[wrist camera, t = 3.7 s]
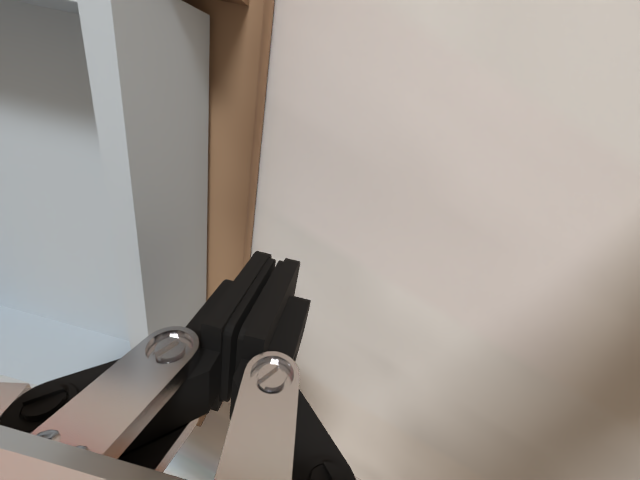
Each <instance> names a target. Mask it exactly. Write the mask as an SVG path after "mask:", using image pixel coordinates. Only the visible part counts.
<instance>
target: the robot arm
mask: <svg viewBox="0 0 640 480" xmlns="http://www.w3.org/2000/svg"><path fill="white" fill-rule="evenodd" d="M275 263H276V260H275V259H271V254H267V253H263V252H259V251H256V252H255V253H254V254H253V256H252V257H251V258H250V260H249V261H248V262H247V264H246V265H245V266H244V268H243V269H242V270H241V272H240V273H239V274H238V276H237V277H236V278H235V279H234V281H232V280H228V279H225V280H224V281H223V282H222V283H221V284H220V285H219V286H218V288H217V289H216V290H215V291H214V293H213V294H212V295H211V296H210V297H209V299H208V300H207V301H206V302H205V304H204V305H203V306H202V307H201V308H200V310H199V311H198V312H197V313H196V315H195V316H194V317H193V318H192V319H191V321H190V322H189V323H188V324H187V326H186V327H182V326H171V327H165V328H162V329H159V330H157V331H155V332H153V333H152V334H150V335H149V336H147V337H146V338H145V339H144V340H142V341H141V342H140V343H139V344H138V345H136V346H135V347H134V348H133V349H132V350H130V351H129V352H128V353H127V354H126V355H124V356H123V357H122V358H120V359H117V360H114V361H111V362H108V363H104V364H101V365H98V366H95V367H92V368H89V369H85V370H82V371H79V372H76V373H73V374H70V375H66V376H63V377H60V378H57V379H54V380H51V381H47V382H45V383H43V384H40V385H38V386H35V387H33V388H31V387H30V384H29V383H8V382H0V480H186V479H183V478H179V477H176V476H172V475H169V474H166V473H163V472H164V470H165V469H166V467H167V466H168V464H169V463H170V462H171V460H172V459H173V457H174V456H175V455H176V453H177V452H178V450H179V449H180V447H181V446H182V445H183V443H184V442H185V440H186V439H187V438H188V436H189V435H190V433H191V432H192V430H193V429H194V428H195V426H196V424H197V422H198V419H199V417H201V416H203V415H205V414H207V413H209V411H210V409H211V410H215V411H218V410H219V408H220V406H221V404H222V402H223V401H226V402H228V401H229V400H230V398H231V407H230V425H229V428H228V432H227V435H226V439H225V443H224V446H223V450H222V453H221V457H220V460H219V464H218V468H217V471H216V475H215V478H214V480H360V479H359V478H357V477H355V476H354V474H353V472H352V470H351V468H350V466H349V465H348V463H347V462H346V460H345V459H344V457H343V455H342V454H341V452H340V451H339V449H338V448H337V446H336V445H335V443H334V442H333V440H332V439H331V437H330V435H329V434H328V432H327V431H326V429H325V428H324V426H323V425H322V423H321V422H320V420H319V419H318V417H317V416H316V414H315V412H314V411H313V409H312V408H311V406H310V405H309V403H308V402H307V400H306V399H305V397H304V396H303V394H302V393H301V391H300V389H299V381H300V374H299V369H298V366H297V364H296V363H295V360H296V357H297V353H298V350H299V346H300V343H301V339H302V336H303V332H304V328H305V324H306V320H307V316H308V311H309V307H310V301H311V300H307V299H303V298H299V297H295V296H294V294H295V288H296V283H297V278H298V272H299V267H300V261H296V260H291V259H287V258H285V260H284V261H279V262H278V263H277V265H276V267H275Z"/></svg>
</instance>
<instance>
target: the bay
mask: <svg viewBox="0 0 640 480" xmlns="http://www.w3.org/2000/svg"><path fill="white" fill-rule="evenodd" d="M182 1H184V2H186V3H188V4H189V5H191V6H193V7H195V8H197V9H199V10H201V11H203V12H205V13H206V14H208V15H210V45H209V121H208V197H207V273H206V301H207V300H208V299H209V297H210V296H211V295H212V294H213V293H214V291H215V290H216V289H217V288H218V286H219V285H220V284H221V283H222V282H223V281H224V280H225V279H228V280H232V281H234V279H235V278H236V277H237V276H238V274H239V273H240V272H241V270H242V269H243V268H244V266H245V265H246V264H247V262H248V261H249V260H250V254H251V244H252V233H253V222H254V212H255V201H256V191H257V180H258V169H259V159H260V148H261V137H262V127H263V116H264V106H265V95H266V84H267V74H268V63H269V52H270V42H271V31H272V20H273V10H274V0H182ZM206 415H207V414H205V415H203V416H201V417H199V419H198V422H197V424H196V425H197V426H200V427H201V425H202V423H203V421H204V419H205V417H206Z"/></svg>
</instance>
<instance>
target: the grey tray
mask: <svg viewBox="0 0 640 480" xmlns="http://www.w3.org/2000/svg"><path fill="white" fill-rule="evenodd" d="M209 45H210V15H208V14H206V13H205V12H203V11H201V10H199V9H197V8H195V7H193V6H191V5H189V4H188V3H186V2H184V1H182V0H0V382H8V383H29V384H30V387H31V388H33V387H35V386H38V385H40V384H43V383H45V382H47V381H51V380H54V379H57V378H60V377H63V376H66V375H70V374H73V373H76V372H79V371H82V370H85V369H89V368H92V367H95V366H98V365H101V364H104V363H108V362H111V361H114V360H117V359H120V358H122V357H123V356H124V355H126V354H127V353H128V352H129V351H130V350H132V349H133V348H134V347H135V346H136V345H138V344H139V343H140V342H141V341H142V340H144V339H145V338H146V337H147V336H149V335H150V334H152V333H153V332H155V331H157V330H159V329H162V328H165V327H171V326H182V327H186V326H187V324H188V323H189V322H190V321H191V319H192V318H193V317H194V316H195V315H196V313H197V312H198V311H199V310H200V308H201V307H202V306H203V305H204V304H205V302H206V273H207V197H208V121H209Z"/></svg>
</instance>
